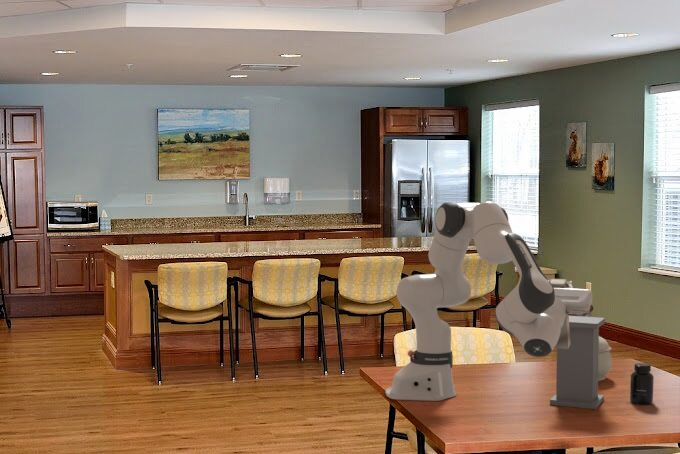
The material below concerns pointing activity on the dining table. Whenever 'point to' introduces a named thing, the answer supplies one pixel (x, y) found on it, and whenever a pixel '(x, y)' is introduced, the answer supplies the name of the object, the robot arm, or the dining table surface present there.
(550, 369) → the dining table surface
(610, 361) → the kettle
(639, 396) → the supplement bottle
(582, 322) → the tool stand
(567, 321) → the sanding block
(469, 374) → the dining table surface
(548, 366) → the dining table surface
